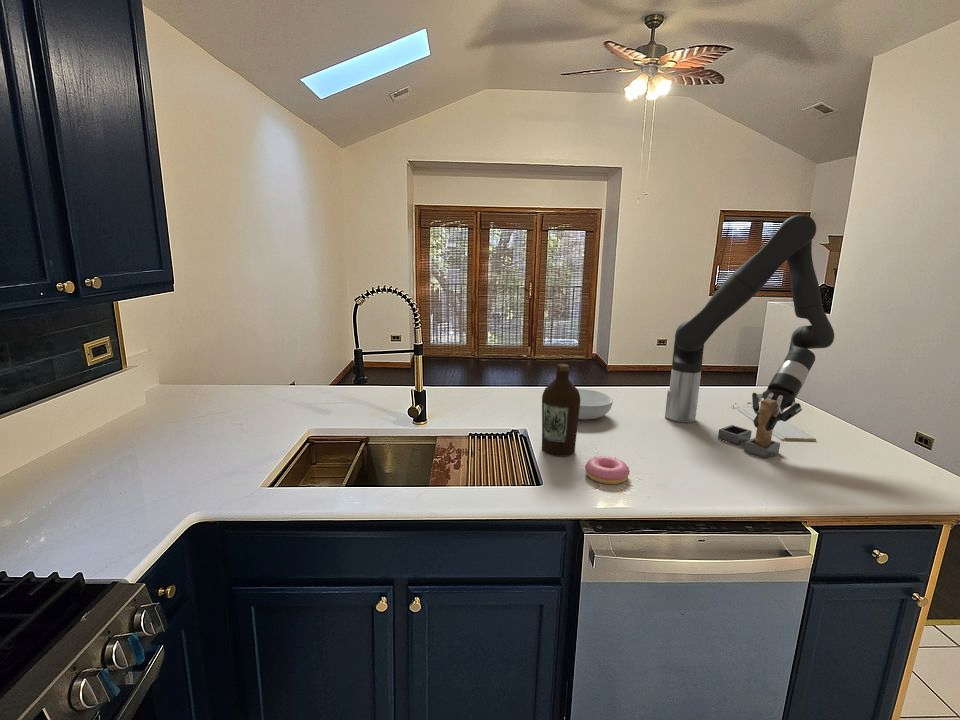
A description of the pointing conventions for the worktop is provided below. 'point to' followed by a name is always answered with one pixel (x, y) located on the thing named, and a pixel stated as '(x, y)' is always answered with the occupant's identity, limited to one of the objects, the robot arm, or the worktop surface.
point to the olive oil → (560, 414)
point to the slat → (765, 422)
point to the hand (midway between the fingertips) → (761, 427)
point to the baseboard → (779, 427)
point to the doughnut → (607, 470)
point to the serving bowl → (593, 404)
